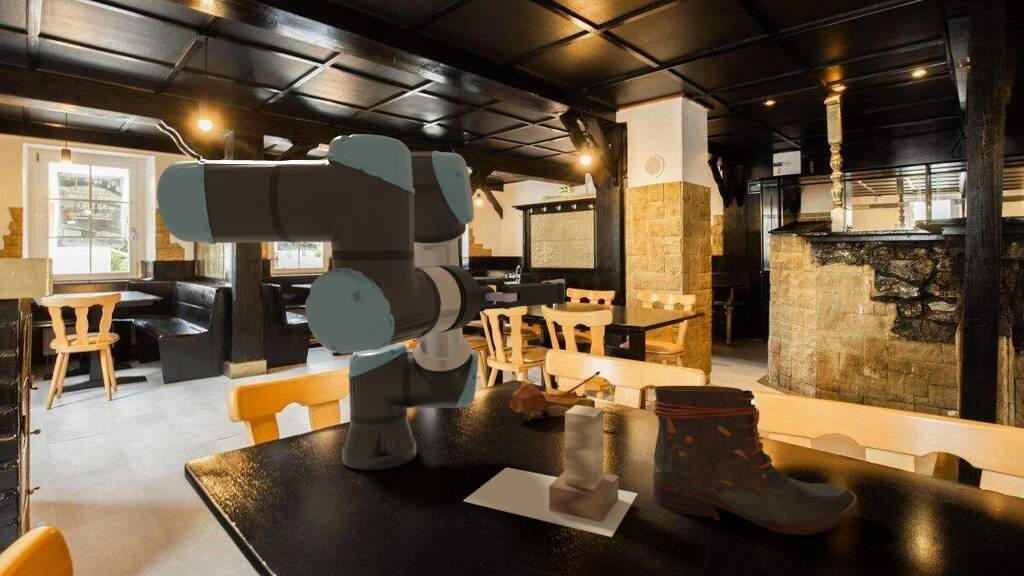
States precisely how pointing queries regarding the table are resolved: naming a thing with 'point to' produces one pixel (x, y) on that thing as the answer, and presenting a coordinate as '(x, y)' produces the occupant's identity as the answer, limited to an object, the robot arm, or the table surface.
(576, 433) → the column
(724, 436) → the ankle boot
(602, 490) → the plinth
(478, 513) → the table surface
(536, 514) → the white flat panel
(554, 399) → the toy
